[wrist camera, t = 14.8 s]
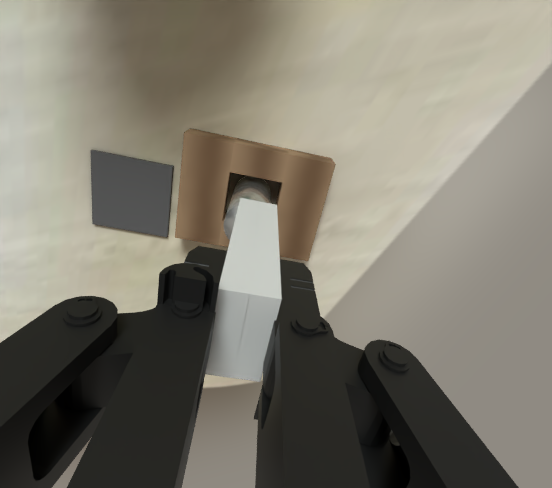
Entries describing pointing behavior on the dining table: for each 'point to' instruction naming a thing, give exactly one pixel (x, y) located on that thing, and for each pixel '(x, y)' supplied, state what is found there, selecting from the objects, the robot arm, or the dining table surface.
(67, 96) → the dining table surface
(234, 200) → the brushed steel cylinder
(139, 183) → the pad
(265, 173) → the jig
